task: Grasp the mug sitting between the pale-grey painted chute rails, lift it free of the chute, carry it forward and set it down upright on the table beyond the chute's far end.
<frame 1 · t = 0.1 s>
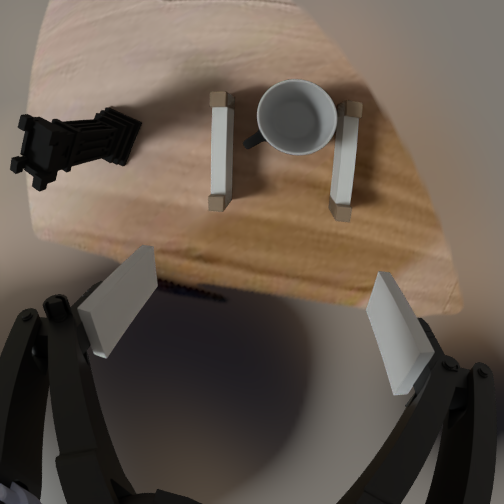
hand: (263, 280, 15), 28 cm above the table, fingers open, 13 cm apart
mug: (285, 125, 37), on the table
chess piece: (116, 135, 39), on the table
chute: (283, 151, 38), on the table
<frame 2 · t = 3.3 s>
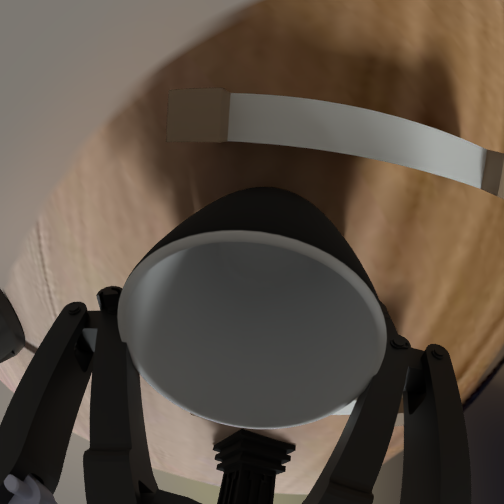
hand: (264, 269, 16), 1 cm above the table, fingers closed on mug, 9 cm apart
mug: (278, 259, 18), on the table, touching gripper
chess piece: (253, 445, 30), on the table
chute: (329, 267, 17), on the table
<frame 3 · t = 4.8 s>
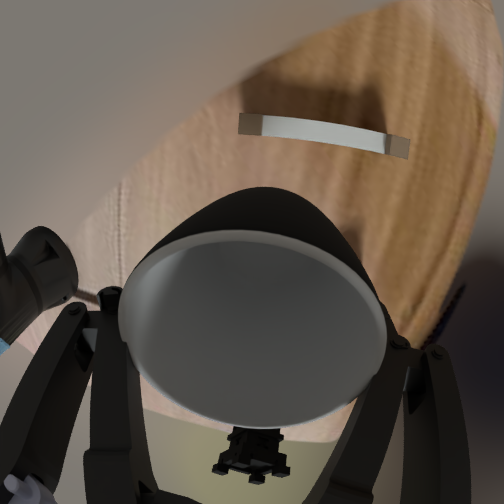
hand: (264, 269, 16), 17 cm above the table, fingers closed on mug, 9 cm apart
mug: (278, 259, 18), point 15 cm above the table, touching gripper
chess piece: (264, 366, 44), on the table
chute: (311, 204, 31), on the table
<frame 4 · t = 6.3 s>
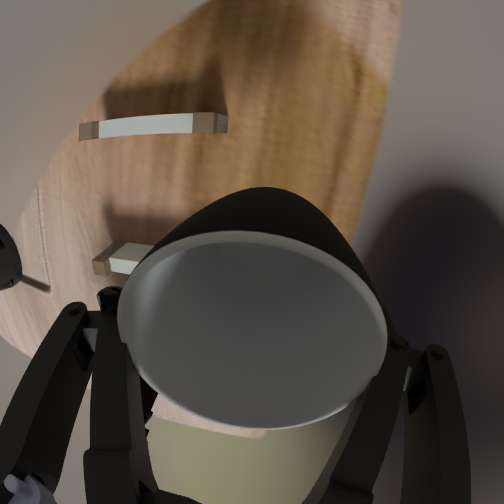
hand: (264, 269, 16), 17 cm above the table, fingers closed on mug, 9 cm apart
mug: (278, 259, 18), point 15 cm above the table, touching gripper
chess piece: (161, 349, 45), on the table
chute: (162, 192, 33), on the table
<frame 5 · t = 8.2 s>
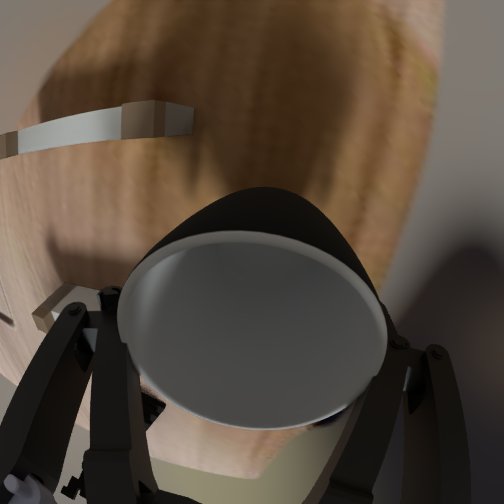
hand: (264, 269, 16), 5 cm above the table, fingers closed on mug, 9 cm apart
mug: (278, 259, 18), point 3 cm above the table, touching gripper
chess piece: (135, 400, 34), on the table
chute: (108, 223, 22), on the table
when the fingers open (3 cm above the table, at t = 9.6 s): mug drops 2 cm, on the table.
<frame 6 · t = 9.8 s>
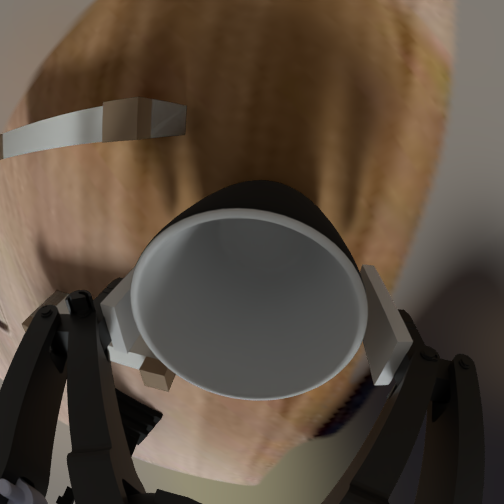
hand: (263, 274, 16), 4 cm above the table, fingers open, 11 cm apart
mug: (274, 248, 19), on the table
chess piece: (132, 409, 32), on the table
chute: (97, 231, 20), on the table
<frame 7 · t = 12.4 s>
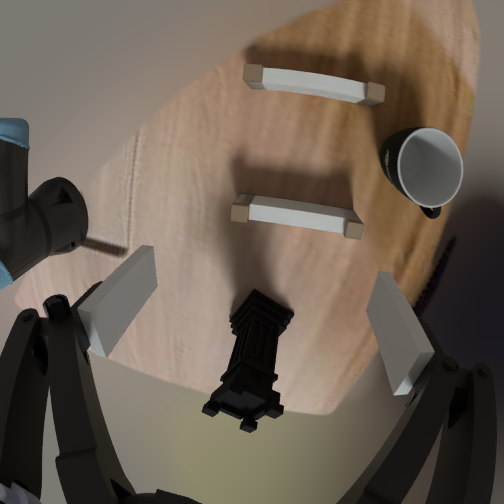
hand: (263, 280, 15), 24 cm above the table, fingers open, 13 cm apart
mug: (403, 168, 33), on the table
chess piece: (261, 315, 47), on the table
chute: (305, 147, 34), on the table
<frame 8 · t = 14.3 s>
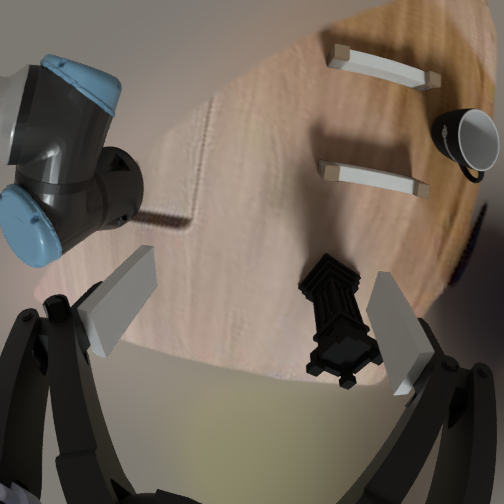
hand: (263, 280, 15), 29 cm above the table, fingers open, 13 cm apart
mug: (448, 143, 34), on the table
chess piece: (329, 280, 47), on the table
chute: (374, 121, 35), on the table
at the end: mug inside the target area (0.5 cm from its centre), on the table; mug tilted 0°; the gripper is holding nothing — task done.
